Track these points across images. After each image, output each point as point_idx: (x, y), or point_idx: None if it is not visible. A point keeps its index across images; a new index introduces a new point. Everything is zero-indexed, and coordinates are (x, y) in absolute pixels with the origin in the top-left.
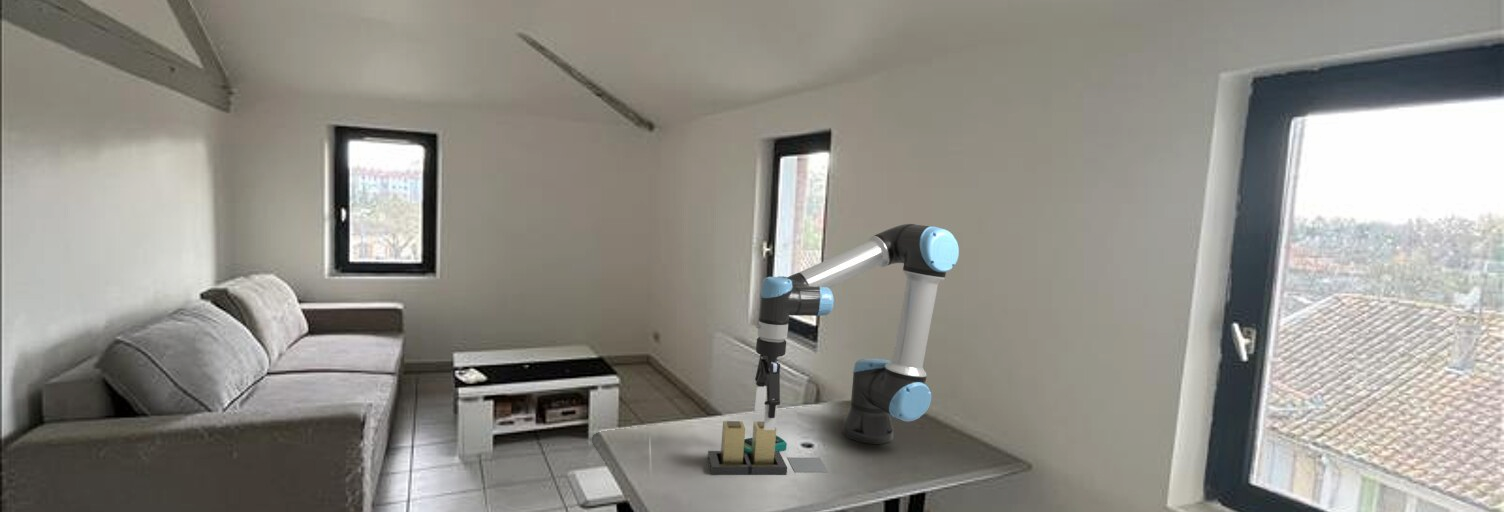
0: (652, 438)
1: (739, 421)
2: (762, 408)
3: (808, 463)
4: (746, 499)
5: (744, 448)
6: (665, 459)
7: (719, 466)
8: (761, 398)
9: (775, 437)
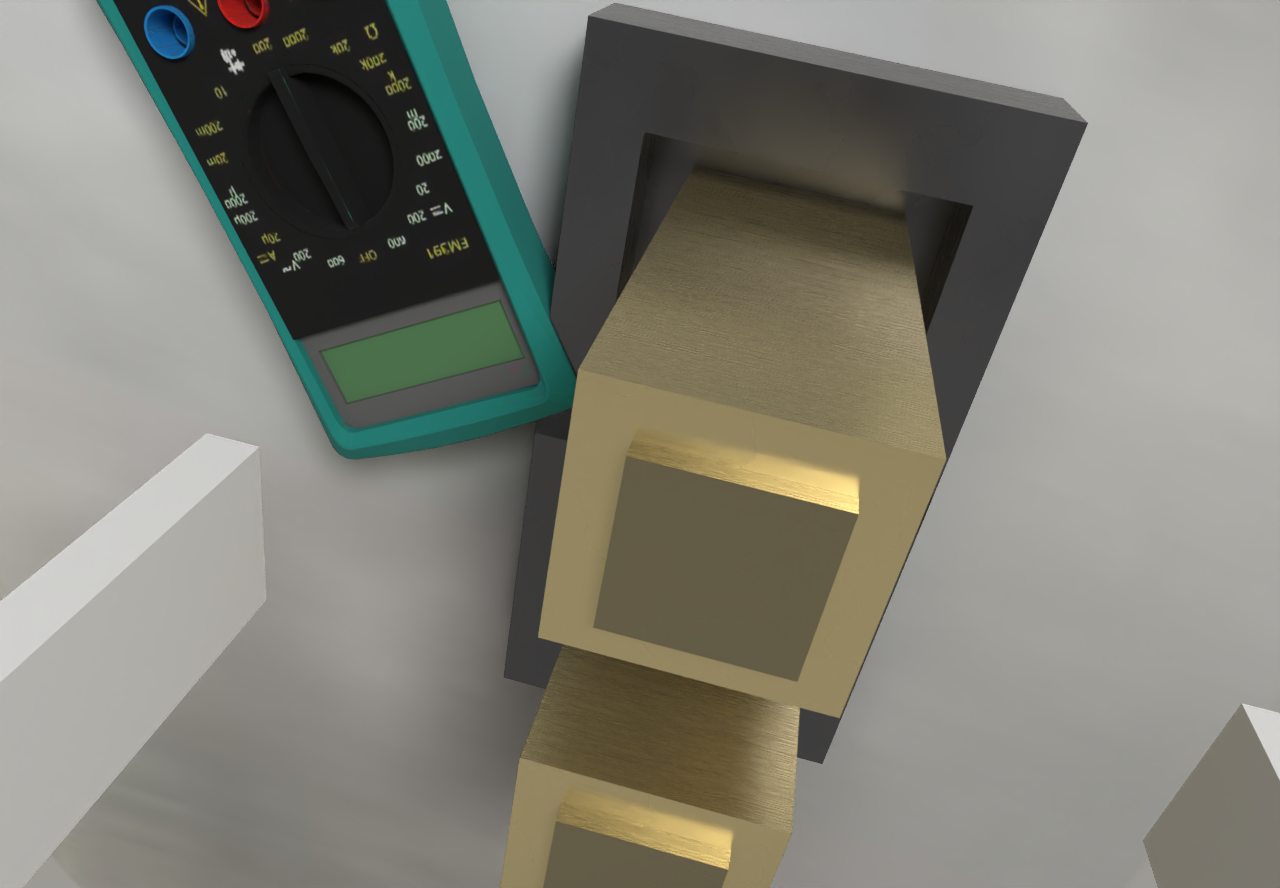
0: (164, 776)
1: (565, 823)
2: (228, 517)
3: None
4: None
5: (516, 416)
6: (490, 822)
7: (826, 718)
8: (91, 696)
9: (930, 385)
